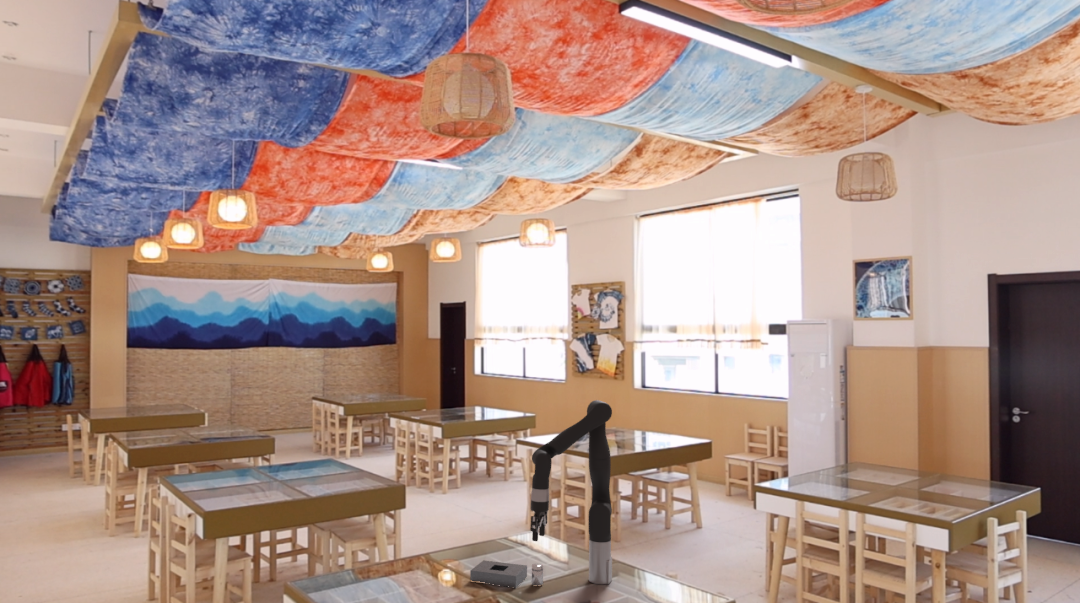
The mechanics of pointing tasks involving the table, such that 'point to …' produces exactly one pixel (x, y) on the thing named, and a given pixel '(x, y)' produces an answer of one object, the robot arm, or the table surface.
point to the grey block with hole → (499, 573)
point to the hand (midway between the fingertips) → (538, 538)
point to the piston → (537, 574)
